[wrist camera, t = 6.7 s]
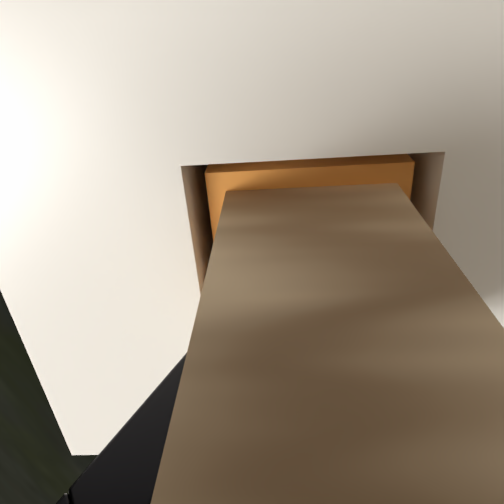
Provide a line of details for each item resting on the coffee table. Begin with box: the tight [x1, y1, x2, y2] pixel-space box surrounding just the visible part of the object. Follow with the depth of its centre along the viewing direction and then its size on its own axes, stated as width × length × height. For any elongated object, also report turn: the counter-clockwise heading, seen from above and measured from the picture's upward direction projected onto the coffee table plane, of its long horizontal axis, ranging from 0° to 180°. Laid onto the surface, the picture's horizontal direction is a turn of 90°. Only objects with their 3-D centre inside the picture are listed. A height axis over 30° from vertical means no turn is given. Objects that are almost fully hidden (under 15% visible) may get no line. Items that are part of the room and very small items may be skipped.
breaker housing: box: [0, 0, 504, 455], centre depth 13 cm, size 16×14×5 cm
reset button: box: [205, 154, 415, 243], centre depth 12 cm, size 5×5×3 cm
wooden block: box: [151, 183, 504, 504], centre depth 7 cm, size 4×4×9 cm
